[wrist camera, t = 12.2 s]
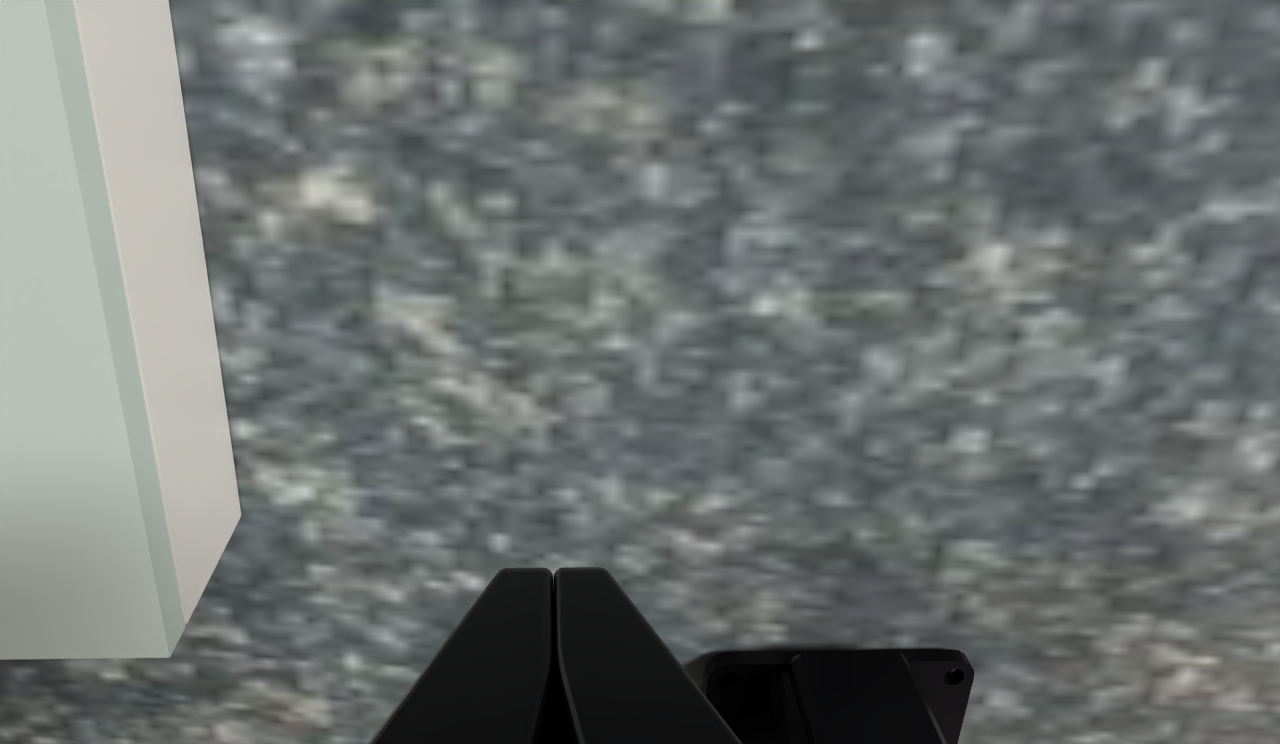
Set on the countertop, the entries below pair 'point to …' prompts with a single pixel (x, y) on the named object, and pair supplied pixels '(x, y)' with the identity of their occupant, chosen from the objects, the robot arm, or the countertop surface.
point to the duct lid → (69, 377)
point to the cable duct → (163, 274)
